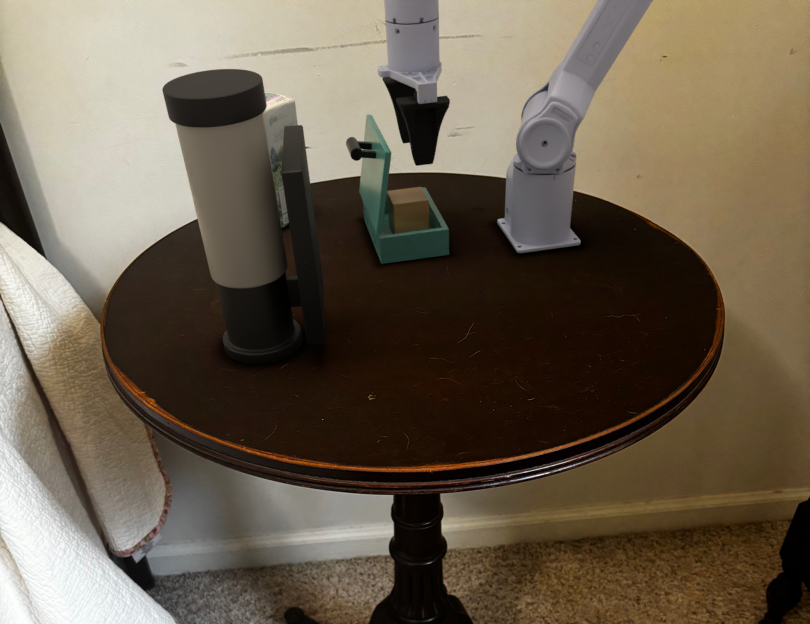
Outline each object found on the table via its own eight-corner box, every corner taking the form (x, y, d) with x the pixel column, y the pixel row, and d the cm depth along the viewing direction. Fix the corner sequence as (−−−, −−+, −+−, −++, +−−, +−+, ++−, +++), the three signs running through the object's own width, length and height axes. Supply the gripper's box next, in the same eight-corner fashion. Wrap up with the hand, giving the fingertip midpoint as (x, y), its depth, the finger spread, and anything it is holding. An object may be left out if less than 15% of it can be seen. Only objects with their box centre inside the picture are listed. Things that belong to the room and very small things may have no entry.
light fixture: (228, 318, 88) (171, 67, 71) (326, 309, 89) (294, 57, 71) (219, 378, 80) (152, 109, 62) (329, 368, 80) (292, 98, 63)
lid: (372, 114, 97) (341, 111, 96) (391, 152, 87) (358, 149, 86) (364, 192, 103) (335, 190, 102) (381, 235, 94) (350, 233, 93)
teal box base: (426, 211, 106) (425, 187, 104) (449, 254, 97) (449, 228, 95) (364, 219, 105) (362, 195, 103) (381, 264, 96) (379, 238, 94)
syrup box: (278, 206, 110) (259, 89, 100) (310, 214, 107) (295, 96, 97) (249, 221, 107) (227, 102, 97) (282, 230, 104) (262, 109, 94)
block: (388, 225, 102) (386, 190, 99) (422, 221, 102) (421, 186, 99) (395, 240, 99) (393, 204, 96) (429, 235, 99) (428, 199, 96)
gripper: (364, 7, 90) (373, 136, 99) (386, 38, 79) (395, 178, 89) (425, 1, 90) (429, 129, 100) (456, 30, 80) (456, 171, 90)
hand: (417, 152), depth 94 cm, fingers open, 7 cm apart
